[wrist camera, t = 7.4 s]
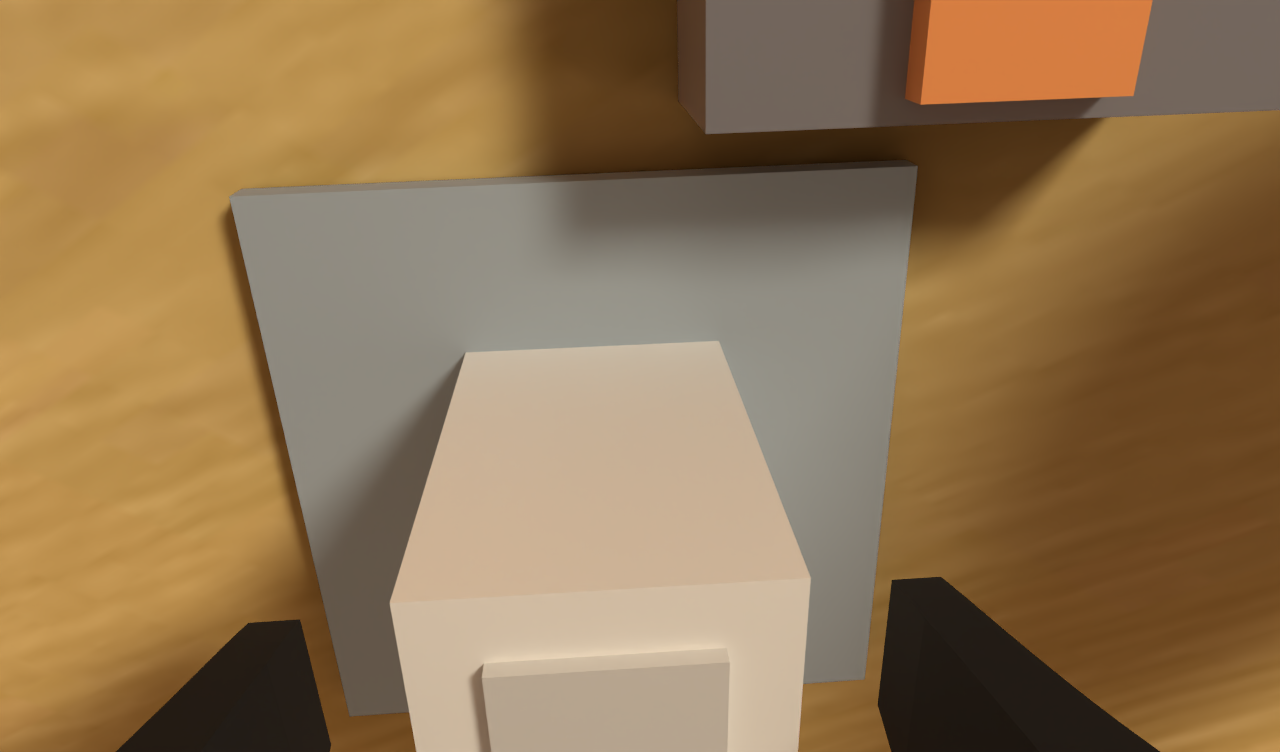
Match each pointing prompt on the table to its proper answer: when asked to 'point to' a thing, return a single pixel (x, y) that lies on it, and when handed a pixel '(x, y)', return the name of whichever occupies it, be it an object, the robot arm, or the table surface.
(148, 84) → the table surface
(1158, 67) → the power strip
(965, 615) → the robot arm
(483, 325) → the mat
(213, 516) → the table surface
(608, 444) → the block
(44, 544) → the table surface
